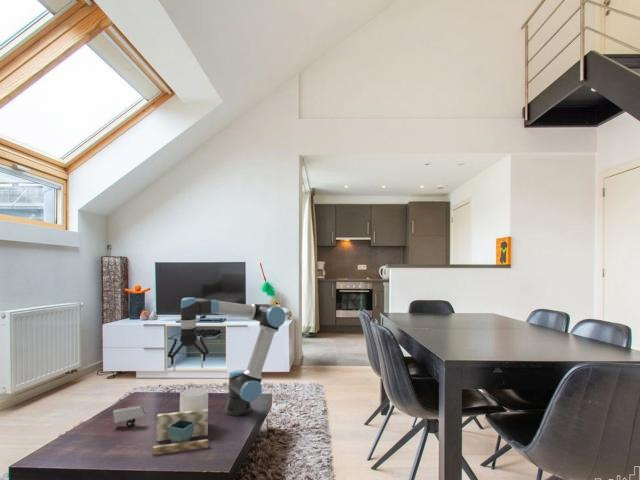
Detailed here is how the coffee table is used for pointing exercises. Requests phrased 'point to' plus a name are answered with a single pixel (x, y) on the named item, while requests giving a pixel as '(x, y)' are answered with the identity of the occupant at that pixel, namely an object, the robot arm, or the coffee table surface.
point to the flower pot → (181, 431)
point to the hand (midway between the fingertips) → (188, 369)
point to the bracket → (128, 414)
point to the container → (193, 399)
